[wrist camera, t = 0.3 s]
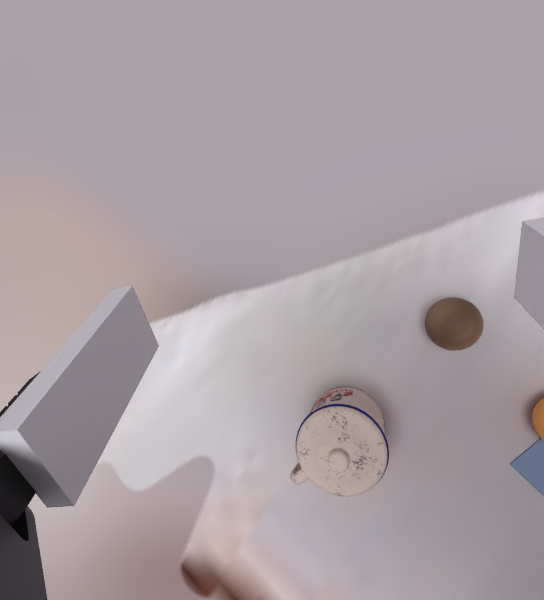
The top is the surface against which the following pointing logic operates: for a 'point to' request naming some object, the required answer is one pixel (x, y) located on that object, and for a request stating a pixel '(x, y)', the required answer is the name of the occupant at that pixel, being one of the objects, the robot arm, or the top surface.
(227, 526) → the top surface
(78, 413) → the robot arm
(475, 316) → the walnut ball
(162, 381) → the top surface
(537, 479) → the mark
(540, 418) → the orange ball
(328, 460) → the teacup with lid
